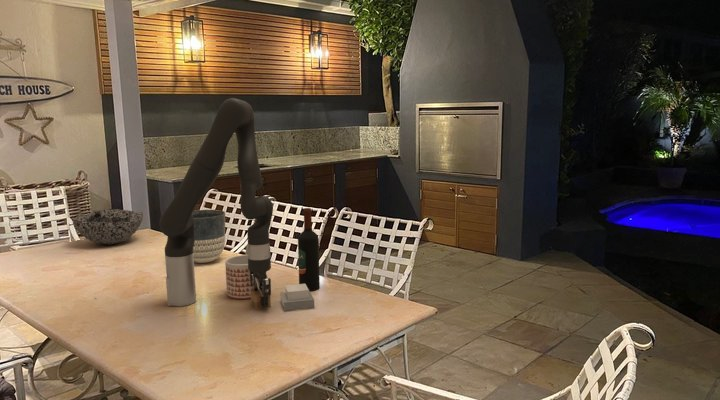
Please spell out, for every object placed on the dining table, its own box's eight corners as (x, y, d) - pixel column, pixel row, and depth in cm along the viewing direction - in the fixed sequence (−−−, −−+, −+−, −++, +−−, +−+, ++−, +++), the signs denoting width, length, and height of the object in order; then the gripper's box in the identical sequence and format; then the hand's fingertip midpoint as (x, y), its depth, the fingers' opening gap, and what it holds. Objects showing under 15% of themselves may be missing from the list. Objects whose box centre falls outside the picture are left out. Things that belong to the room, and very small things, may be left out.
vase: (247, 284, 207) (245, 252, 205) (273, 291, 199) (272, 257, 197) (218, 295, 196) (217, 260, 194) (245, 302, 188) (243, 266, 186)
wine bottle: (316, 291, 198) (314, 211, 193) (296, 290, 200) (294, 210, 195) (321, 285, 206) (320, 207, 201) (302, 284, 207) (300, 206, 202)
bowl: (61, 250, 262) (58, 219, 259) (102, 235, 292) (99, 207, 290) (121, 252, 257) (118, 221, 254) (156, 236, 287) (154, 209, 285)
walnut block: (256, 310, 181) (256, 295, 180) (251, 305, 185) (251, 291, 185) (270, 307, 184) (270, 293, 183) (265, 302, 188) (265, 289, 187)
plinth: (284, 311, 180) (283, 293, 179) (280, 301, 189) (280, 284, 188) (314, 308, 182) (314, 290, 181) (309, 298, 192) (308, 281, 191)
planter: (236, 259, 242) (234, 212, 239) (202, 270, 226) (199, 219, 223) (206, 253, 253) (203, 208, 249) (171, 263, 237) (168, 215, 233)
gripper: (277, 259, 177) (279, 308, 180) (262, 249, 190) (264, 295, 192) (255, 262, 174) (257, 312, 176) (241, 252, 186) (243, 299, 189)
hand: (261, 303), depth 184 cm, fingers open, 7 cm apart
